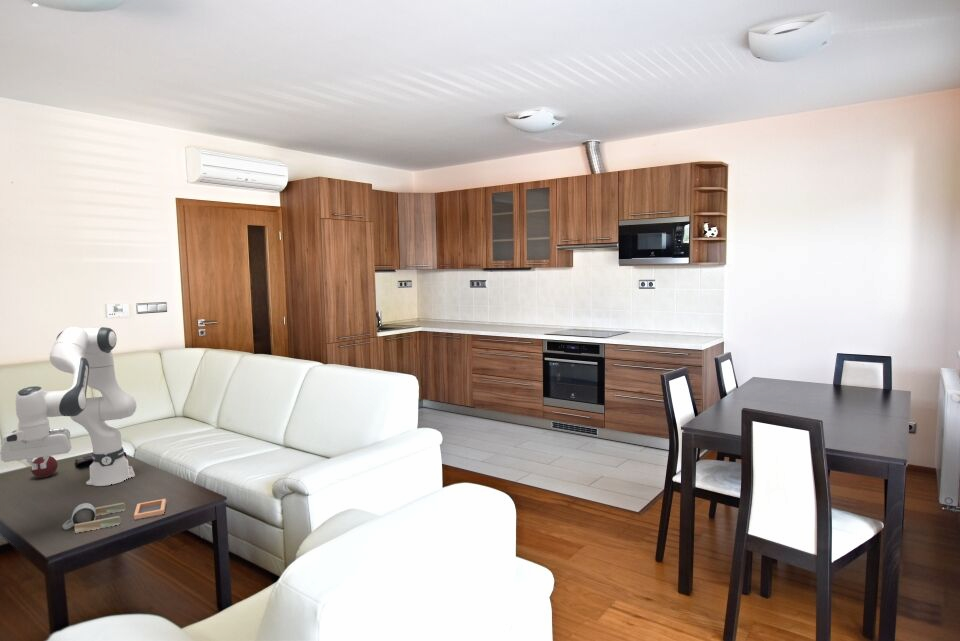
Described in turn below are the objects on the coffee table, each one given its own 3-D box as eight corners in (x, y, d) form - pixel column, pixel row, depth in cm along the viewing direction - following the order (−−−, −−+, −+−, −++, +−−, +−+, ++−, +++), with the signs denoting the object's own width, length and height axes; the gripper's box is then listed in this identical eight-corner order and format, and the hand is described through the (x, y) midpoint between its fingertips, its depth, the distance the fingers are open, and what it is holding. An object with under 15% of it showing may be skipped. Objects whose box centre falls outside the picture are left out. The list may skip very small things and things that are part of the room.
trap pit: (137, 508, 228) (137, 503, 228) (166, 503, 232) (165, 498, 232) (134, 520, 217) (133, 515, 217) (164, 514, 221) (163, 509, 221)
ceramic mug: (96, 517, 221) (93, 498, 220) (97, 524, 215) (94, 505, 214) (62, 525, 215) (60, 506, 214) (62, 533, 209) (59, 514, 208)
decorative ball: (29, 482, 260) (26, 461, 259) (35, 475, 269) (33, 454, 268) (55, 478, 264) (53, 457, 263) (61, 471, 273) (58, 451, 272)
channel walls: (83, 517, 221) (82, 510, 221) (125, 509, 227) (124, 502, 227) (75, 533, 208) (74, 525, 208) (120, 524, 214) (119, 517, 214)
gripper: (71, 425, 213) (75, 460, 215) (2, 434, 205) (7, 471, 206) (67, 429, 208) (71, 466, 209) (-4, 439, 199) (1, 477, 201)
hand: (39, 468), depth 208 cm, fingers closed
